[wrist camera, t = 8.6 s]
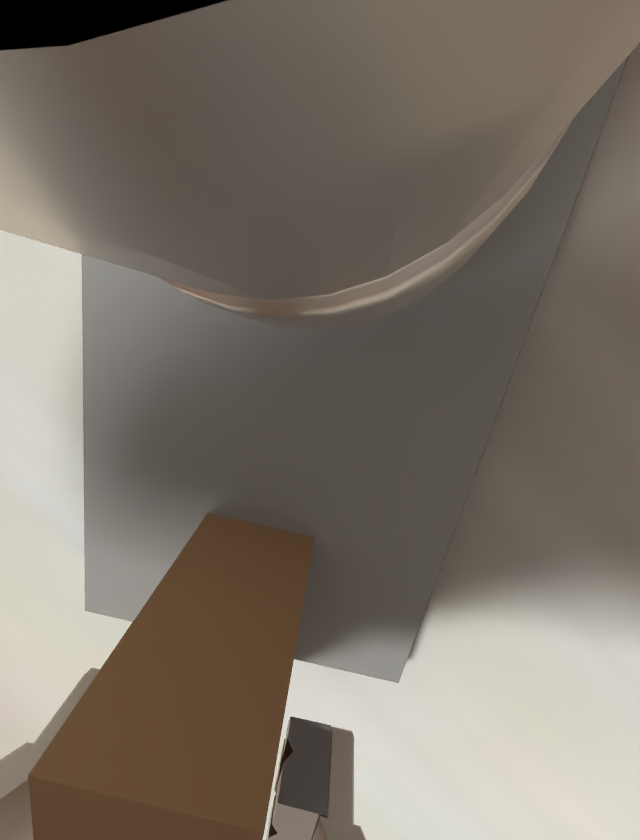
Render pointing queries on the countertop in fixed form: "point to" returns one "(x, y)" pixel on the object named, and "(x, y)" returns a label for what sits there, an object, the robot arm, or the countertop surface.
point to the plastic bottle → (290, 137)
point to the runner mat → (271, 513)
